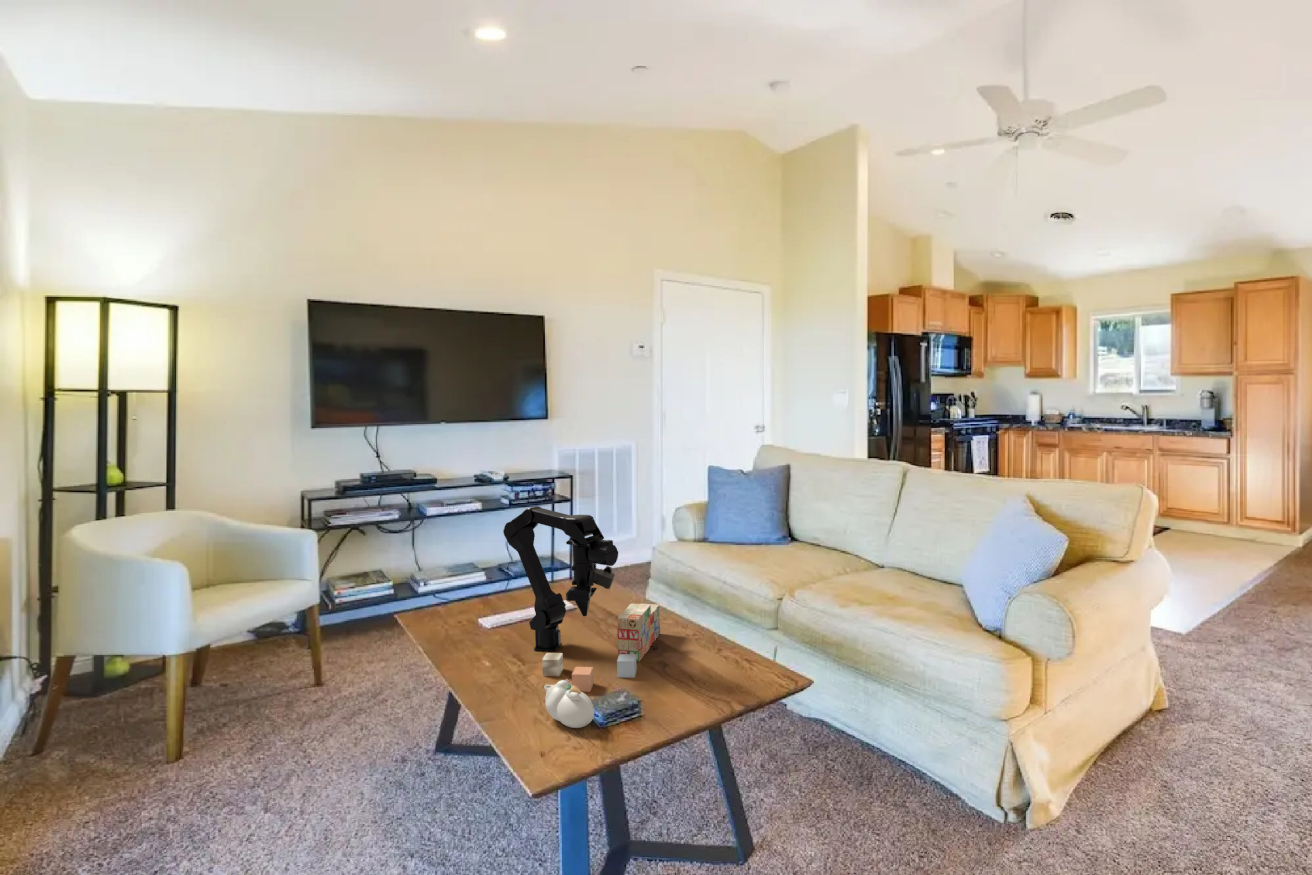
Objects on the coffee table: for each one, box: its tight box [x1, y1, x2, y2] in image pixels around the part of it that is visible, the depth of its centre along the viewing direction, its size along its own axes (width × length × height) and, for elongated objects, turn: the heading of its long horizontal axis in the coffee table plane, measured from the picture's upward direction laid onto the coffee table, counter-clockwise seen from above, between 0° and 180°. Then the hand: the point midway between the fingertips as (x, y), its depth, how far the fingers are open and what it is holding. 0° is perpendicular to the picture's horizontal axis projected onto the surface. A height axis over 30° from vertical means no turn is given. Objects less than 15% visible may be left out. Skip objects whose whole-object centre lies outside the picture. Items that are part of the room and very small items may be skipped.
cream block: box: [541, 652, 564, 677], centre depth 177 cm, size 4×4×4 cm
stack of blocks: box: [617, 603, 661, 662], centre depth 194 cm, size 21×6×12 cm, turn 164°
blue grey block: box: [616, 654, 638, 679], centre depth 175 cm, size 4×4×4 cm
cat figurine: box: [543, 678, 595, 729], centre depth 151 cm, size 10×8×15 cm
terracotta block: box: [571, 666, 594, 693], centre depth 168 cm, size 4×4×4 cm
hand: (585, 615), depth 186 cm, fingers closed
